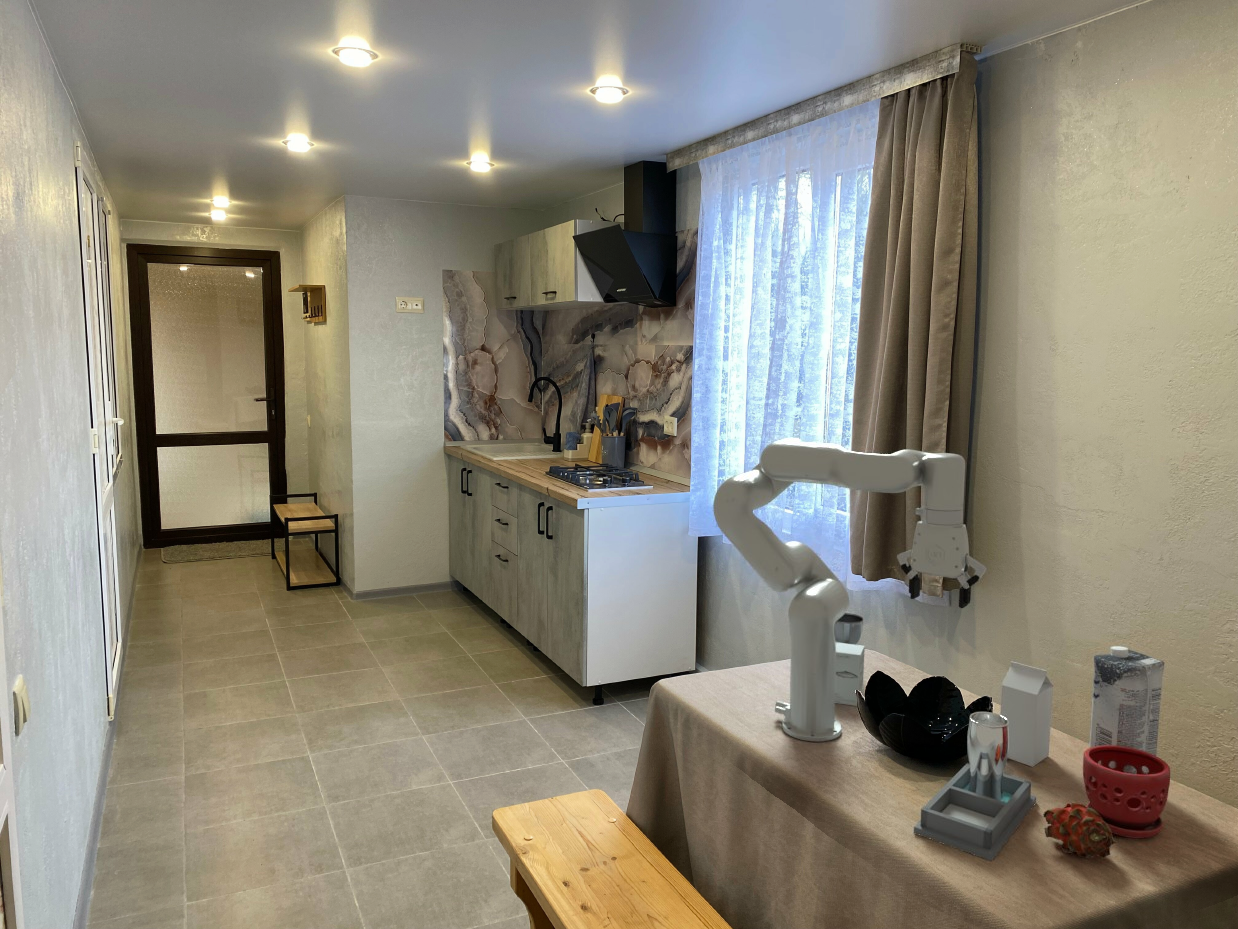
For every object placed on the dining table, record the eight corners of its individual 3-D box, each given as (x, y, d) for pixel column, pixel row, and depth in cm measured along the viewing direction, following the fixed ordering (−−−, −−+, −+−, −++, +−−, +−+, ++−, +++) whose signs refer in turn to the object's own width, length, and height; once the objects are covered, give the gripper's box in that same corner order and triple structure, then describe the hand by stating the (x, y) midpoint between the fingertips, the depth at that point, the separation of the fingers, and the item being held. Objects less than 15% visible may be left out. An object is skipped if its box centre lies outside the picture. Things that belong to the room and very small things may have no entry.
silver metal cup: (1009, 809, 159) (1014, 728, 157) (968, 805, 160) (972, 725, 158) (1001, 790, 165) (1005, 712, 163) (961, 787, 167) (965, 709, 165)
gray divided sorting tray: (913, 833, 154) (914, 810, 153) (964, 781, 172) (965, 760, 171) (991, 861, 146) (992, 837, 145) (1036, 803, 164) (1037, 781, 163)
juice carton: (1161, 795, 166) (1172, 654, 162) (1120, 806, 162) (1131, 662, 158) (1118, 774, 174) (1127, 639, 171) (1078, 784, 170) (1087, 647, 167)
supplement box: (826, 703, 209) (828, 650, 208) (832, 691, 216) (833, 640, 214) (859, 707, 207) (860, 654, 205) (863, 696, 213) (865, 644, 212)
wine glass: (830, 680, 223) (831, 622, 221) (828, 668, 231) (829, 612, 229) (863, 682, 222) (864, 623, 220) (860, 670, 230) (861, 613, 228)
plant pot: (1180, 829, 154) (1186, 763, 153) (1139, 853, 148) (1144, 784, 146) (1105, 797, 165) (1110, 735, 164) (1064, 818, 158) (1068, 753, 157)
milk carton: (1033, 767, 177) (1038, 675, 174) (997, 755, 182) (1002, 665, 180) (1048, 756, 182) (1054, 666, 179) (1014, 745, 187) (1019, 657, 184)
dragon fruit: (1110, 882, 142) (1045, 855, 153) (1136, 840, 145) (1070, 816, 156) (1085, 847, 140) (1021, 821, 151) (1112, 804, 143) (1047, 783, 154)
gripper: (891, 514, 178) (888, 598, 180) (980, 525, 167) (976, 614, 169) (907, 509, 184) (904, 590, 186) (994, 519, 172) (990, 605, 175)
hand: (938, 602), depth 178 cm, fingers open, 9 cm apart
